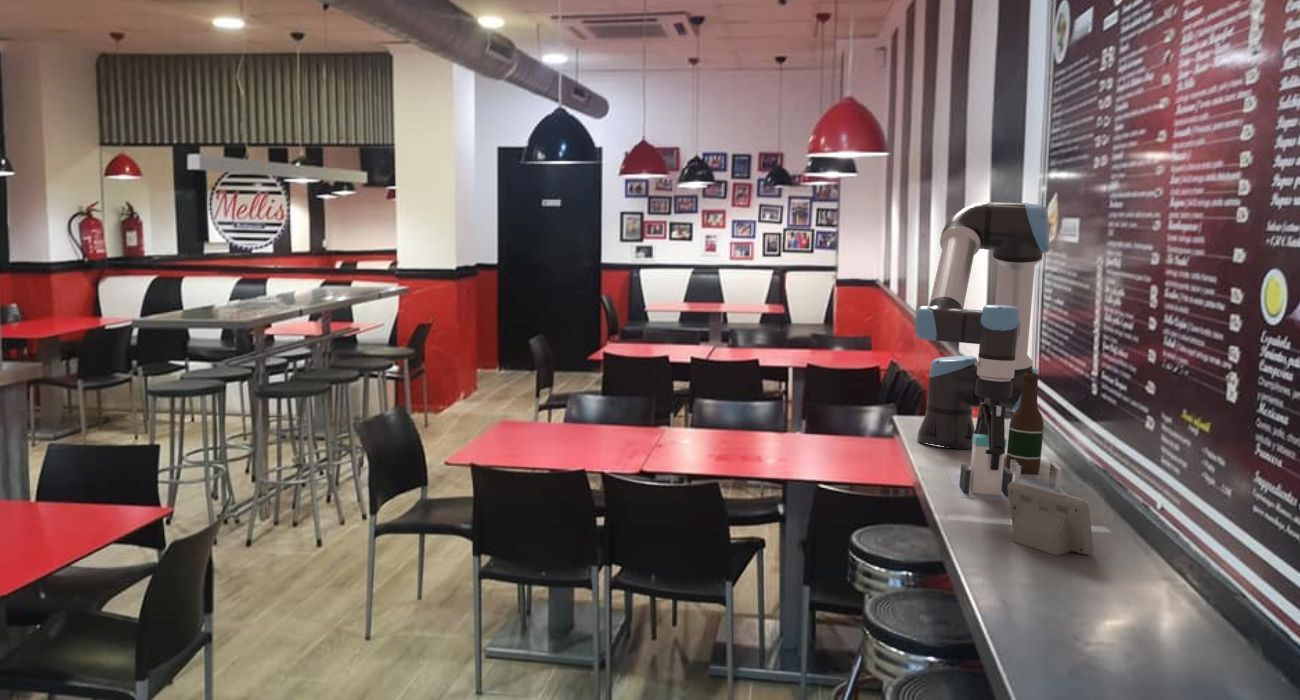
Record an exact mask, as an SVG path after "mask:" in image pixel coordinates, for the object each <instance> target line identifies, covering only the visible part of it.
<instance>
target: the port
mask: <svg viewBox="0 0 1300 700" xmlns="http://www.w3.org/2000/svg"><path fill="white" fill-rule="evenodd" d="M1049 465H1050V466H1049V473H1048V481H1049V483H1048V485H1049V486H1050V487H1051V488H1052V489H1053V490H1054V491H1056V492H1060V487H1062V485H1061V484H1062V477H1063V476H1062V473H1063V469H1062V467H1060V466H1059V465H1058V464H1057V463H1056V462H1050V464H1049ZM1010 471H1011V472H1012V474H1013V477H1012V482H1019V483H1020V479H1021V474H1020V473H1021V466H1020V465H1019V464H1018V462H1017V461H1016V460H1011V461H1010Z"/></svg>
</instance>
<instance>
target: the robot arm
mask: <svg viewBox="0 0 1300 700" xmlns="http://www.w3.org/2000/svg"><path fill="white" fill-rule="evenodd" d="M939 239H940V240H939V245H940V248H941V251H940V252H941V253H940V257H939V262H938V266H937V271H936V273H935V278H934V279H935V280H934V281H933V282H934V283H933V287H932V291H931V296H930V300H929V305H921V306H920V305H919V307H918V308H917V310H916V314H915V320H914V321H915V322H914V323H915V324H914V326H915V327H914V331H915V336H916V338H918V339H920V340H921V339H922V340H928V341H932V342H946V343H947V342H950V343H951V342H952V343H964V344H972V345H978V355H977V357H978V358H977V357H976V356H972V355H971V356H969V355H954V356H944V357H943V356H942V357H938V358H935V359H933V360H932V361H931V364H930V370H929V375H928V378H929V379H928V388H927V389H928V390H927V401H926V412H925V416H924V417H923V419H922V422H921V425H920V427H919V429H918V431H917V439H916V440H917V442H919V443H920V442H921V443H920V444H923V443H928V444H934V445H940V446H944V447H949V448H956V449H955V450H968V449H972V444H973V442H972V438H973V434H984V435H988V440H989V450H986V454H987V465H986V476H985V484H987V485H999V479H1000V468H1001V457H1002V454H1004V453H1006V448H1005V439H1006V437H1005V436H1006V435H1005V432H1006V431H1005V416H1006V415H1005V413H1006V411H1007V412H1015V411H1016V410H1017V409H1018V407H1019V404H1020V401H1021V395H1022V388H1023V382H1024V379H1023V375H1024V374H1025V373H1035V374H1038V375H1039V369H1038V368H1037V367H1035V366H1033V365H1034V362H1033V361H1034V360H1033V359H1032V358H1031V357H1030V356H1029V355H1028V350H1029V349H1028V348H1029V341H1030V340H1029V337H1030V325H1031V313H1032V304H1033V291H1034V279H1035V270H1036V269H1035V267H1036V265H1037V264H1039V262H1042V260H1043V255H1044V254H1047V253H1048V252H1049V251H1050V223H1049V213H1048V209H1047V207H1046V206H1045V205H1043V204H1036V203H1035V204H1034V203H1029V202H992V201H991V202H990V201H979V202H975V203H972V204H969V205H967V206H965V207H963V208H962V209H960V210H959V211H957V212H956V213H955V214H954V215H953V216H952V217H951V218H950V219H949V220H948V221H947V222H946V223H945V226H944V227H943V229H942V232H941V235H940V238H939ZM979 250H988V251H989V250H990V251H992V258H993V260H995V262H996V263H997V264H998V269H997V279H996V291H995V292H996V294H995V303H994V304H986V305H984V307H982V309H981V310H980V309H969V308H964V307H965V302H966V296H967V292H968V287H969V281H970V278H971V277H970V276H971V273H972V266H973V262H974V256H975V255H976V254H977V253H978V252H979ZM974 408H978V413H977V418H976V424H975V425H974V421H973V409H974Z"/></svg>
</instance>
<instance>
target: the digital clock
mask: <svg viewBox="0 0 1300 700" xmlns="http://www.w3.org/2000/svg"><path fill="white" fill-rule="evenodd" d="M1008 496H1009V501H1008V502H1009V503H1008V504H1009V508H1010V509H1009V510H1010V516H1011V524H1012V529H1013V535H1012V542H1013V543H1015V544H1018V545H1021V546H1024V547H1027V548H1031V549H1034V550H1037V551H1040V552H1042V553H1043V552H1044V553H1047V554H1050V555H1053V556H1061V555H1063V554H1064V555H1065V554H1067V553H1071V552H1075V553H1078V554H1082V555H1090V554H1093V553H1094V542H1093V532H1092V523H1091V514H1090V513H1091V512H1090V506H1089V503H1088V501H1087V500H1086V499H1083V498H1080V497H1076V496H1073V495H1069V494H1068V495H1066V494H1062V493H1058V492H1054V491H1051V490H1047V489H1043V488H1039V487H1035V486H1032V485H1028V484H1024V483H1019V482H1010V483H1009V484H1008Z"/></svg>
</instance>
